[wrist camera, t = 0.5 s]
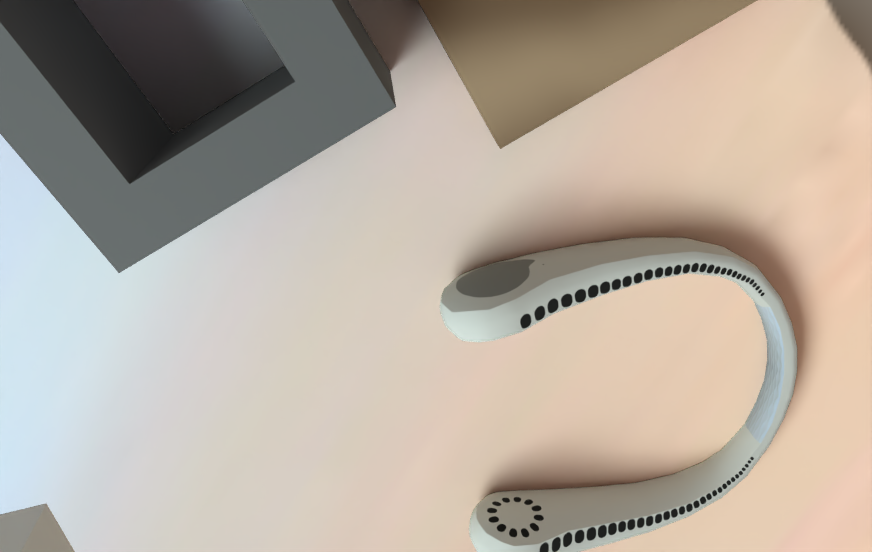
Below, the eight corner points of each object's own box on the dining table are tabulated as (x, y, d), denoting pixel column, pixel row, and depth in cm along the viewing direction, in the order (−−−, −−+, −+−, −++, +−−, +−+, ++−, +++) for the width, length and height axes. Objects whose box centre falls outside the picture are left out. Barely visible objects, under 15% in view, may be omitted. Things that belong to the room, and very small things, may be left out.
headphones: (795, 209, 38) (851, 247, 34) (770, 478, 45) (814, 539, 41) (434, 257, 38) (443, 302, 33) (466, 522, 45) (476, 588, 40)
